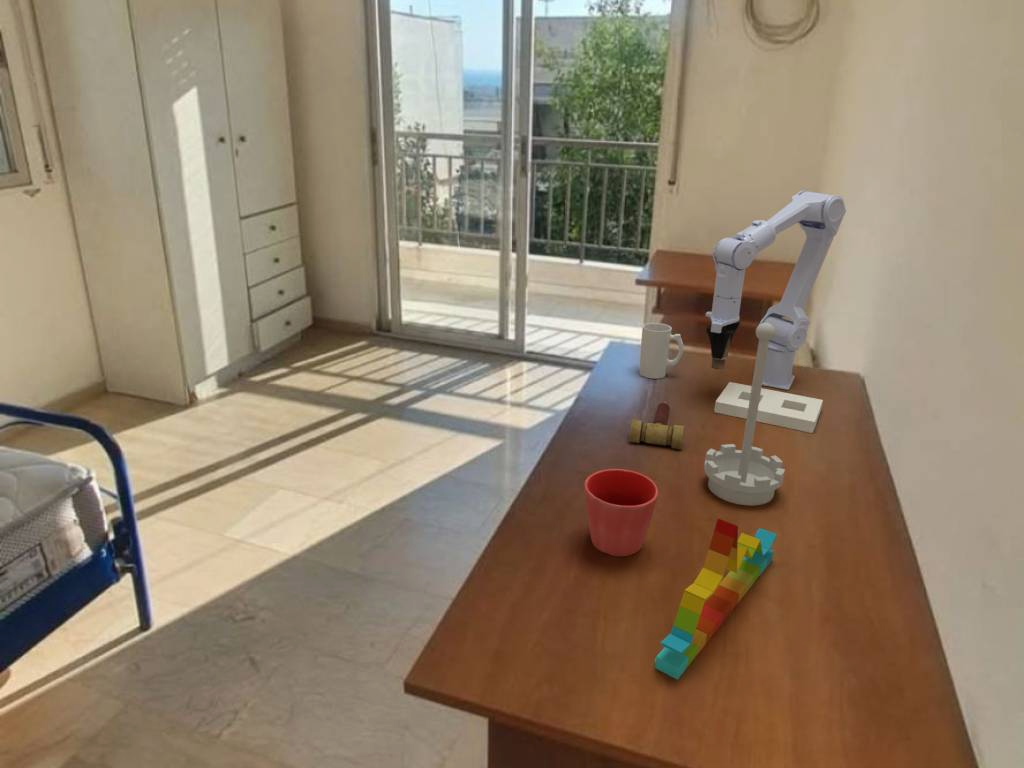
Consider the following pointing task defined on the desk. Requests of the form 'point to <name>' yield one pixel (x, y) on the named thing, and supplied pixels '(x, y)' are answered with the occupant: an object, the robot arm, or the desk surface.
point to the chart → (714, 593)
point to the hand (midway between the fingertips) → (719, 355)
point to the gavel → (657, 430)
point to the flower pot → (619, 510)
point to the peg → (720, 362)
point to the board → (771, 407)
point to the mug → (657, 350)
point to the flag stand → (747, 450)
